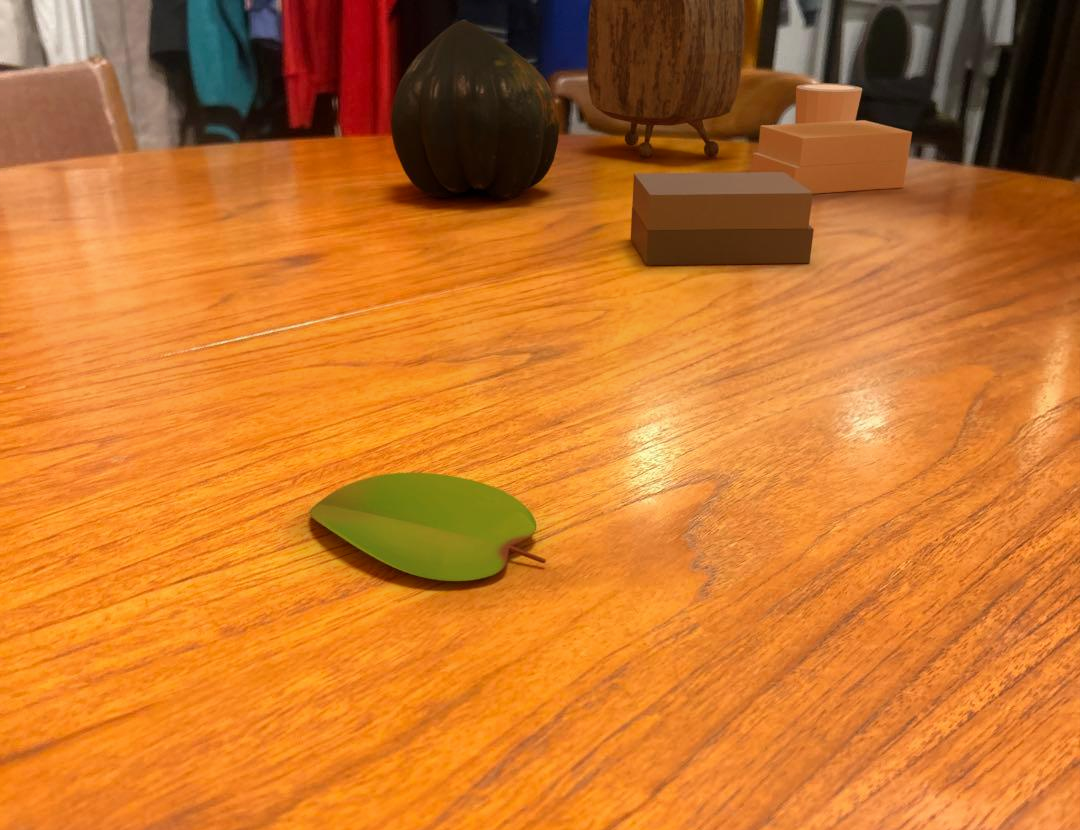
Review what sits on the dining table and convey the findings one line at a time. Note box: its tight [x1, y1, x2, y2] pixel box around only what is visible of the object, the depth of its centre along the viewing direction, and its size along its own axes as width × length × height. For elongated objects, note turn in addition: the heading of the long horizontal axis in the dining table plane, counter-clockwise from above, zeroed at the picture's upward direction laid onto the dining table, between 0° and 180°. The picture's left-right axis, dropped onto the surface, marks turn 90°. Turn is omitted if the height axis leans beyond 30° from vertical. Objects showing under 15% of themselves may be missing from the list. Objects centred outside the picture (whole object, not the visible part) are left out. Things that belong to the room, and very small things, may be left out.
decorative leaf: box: [308, 472, 547, 582], centre depth 43 cm, size 8×9×1 cm
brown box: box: [630, 171, 815, 267], centre depth 81 cm, size 12×8×5 cm, turn 94°
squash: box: [390, 19, 560, 201], centre depth 98 cm, size 14×15×15 cm
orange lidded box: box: [750, 119, 913, 195], centre depth 104 cm, size 12×8×5 cm, turn 109°
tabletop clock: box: [586, 0, 746, 159], centre depth 112 cm, size 14×9×25 cm, turn 49°
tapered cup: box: [794, 82, 863, 124], centre depth 117 cm, size 7×7×7 cm
